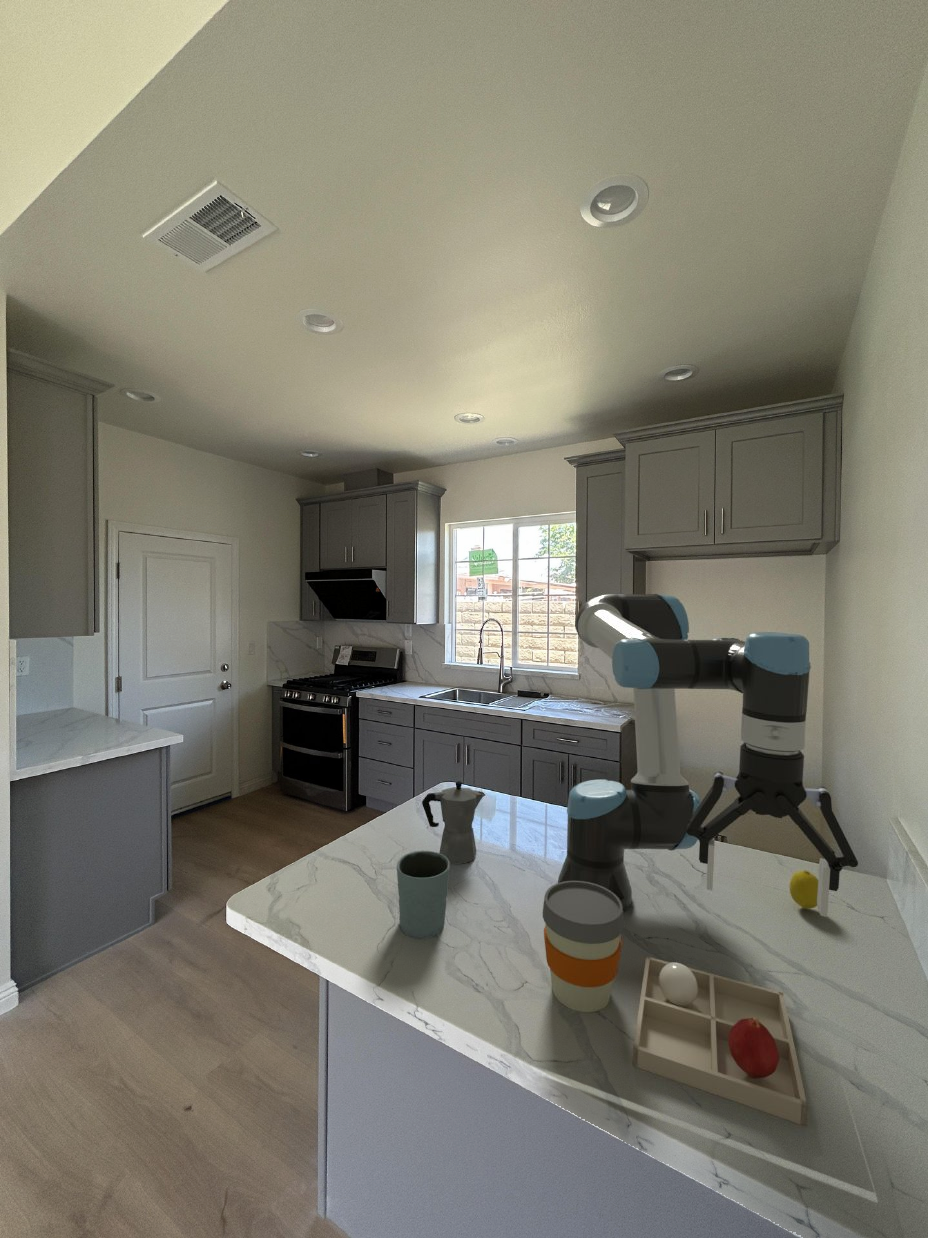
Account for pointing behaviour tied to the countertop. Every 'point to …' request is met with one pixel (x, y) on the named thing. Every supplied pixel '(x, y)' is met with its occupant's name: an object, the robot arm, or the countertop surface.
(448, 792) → the coffeepot
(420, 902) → the green cup
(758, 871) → the countertop surface
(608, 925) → the reusable coffee cup
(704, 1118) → the countertop surface
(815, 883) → the lemon
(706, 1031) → the wooden tray
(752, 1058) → the onion
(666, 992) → the ceramic egg
